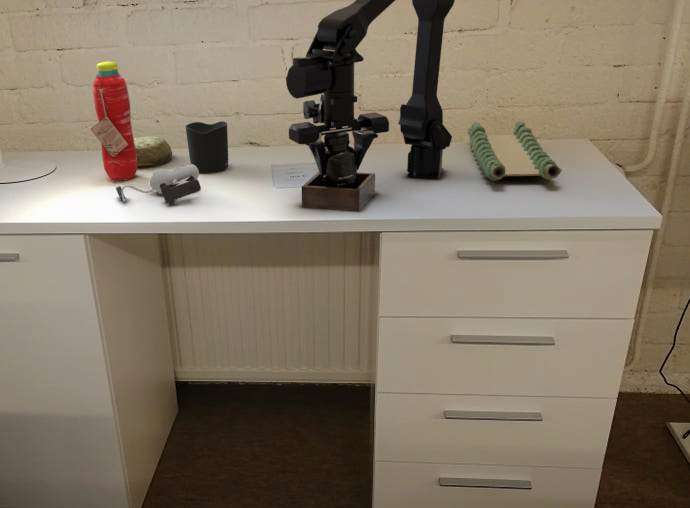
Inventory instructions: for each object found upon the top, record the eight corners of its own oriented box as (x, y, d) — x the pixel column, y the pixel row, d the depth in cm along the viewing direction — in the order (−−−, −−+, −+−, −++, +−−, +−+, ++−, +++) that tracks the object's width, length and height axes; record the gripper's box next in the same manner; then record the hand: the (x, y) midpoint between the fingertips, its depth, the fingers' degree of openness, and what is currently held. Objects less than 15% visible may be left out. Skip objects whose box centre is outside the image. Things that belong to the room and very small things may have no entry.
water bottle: (125, 187, 171) (108, 67, 159) (92, 186, 173) (73, 68, 161) (146, 172, 181) (132, 58, 169) (115, 171, 183) (99, 59, 171)
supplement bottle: (347, 202, 150) (341, 141, 144) (318, 199, 154) (310, 139, 148) (365, 190, 155) (360, 130, 149) (336, 187, 159) (330, 129, 153)
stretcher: (561, 190, 152) (565, 165, 150) (486, 191, 154) (488, 167, 152) (526, 140, 187) (529, 119, 185) (465, 141, 189) (467, 120, 187)
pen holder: (206, 177, 175) (202, 131, 170) (181, 169, 181) (177, 126, 176) (238, 167, 180) (235, 123, 175) (213, 161, 186) (209, 118, 181)
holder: (374, 193, 157) (375, 173, 155) (359, 211, 148) (359, 190, 146) (320, 189, 162) (320, 170, 160) (301, 207, 152) (301, 186, 150)
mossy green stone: (105, 165, 188) (102, 144, 186) (142, 152, 198) (139, 132, 195) (148, 171, 181) (145, 150, 179) (183, 157, 191) (181, 136, 188)
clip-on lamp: (120, 223, 159) (203, 198, 157) (108, 195, 155) (194, 169, 154) (123, 200, 169) (202, 176, 167) (113, 173, 165) (193, 149, 163)
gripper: (364, 78, 154) (363, 156, 161) (276, 89, 149) (280, 169, 156) (391, 86, 145) (389, 169, 152) (299, 98, 140) (301, 183, 147)
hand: (339, 172), depth 152 cm, fingers closed on supplement bottle, 7 cm apart
